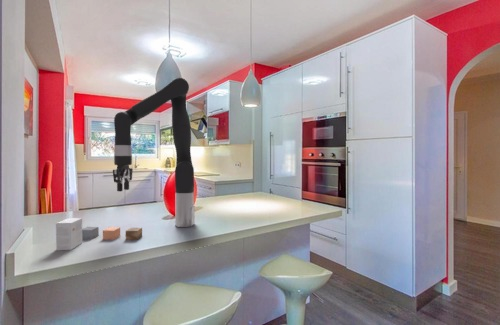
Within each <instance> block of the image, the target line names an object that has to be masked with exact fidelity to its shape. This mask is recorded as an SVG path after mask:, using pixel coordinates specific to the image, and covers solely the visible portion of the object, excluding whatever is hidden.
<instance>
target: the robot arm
mask: <svg viewBox="0 0 500 325" xmlns="http://www.w3.org/2000/svg"><path fill="white" fill-rule="evenodd" d="M189 89H190V84H189V82H188V81H187V80H186V79H185V78H183V77H176V78H173V79H172V80H171V81H170V82H169V83H168V84H167V85H165V86H164V87H163V88H161V89H159V90H158V91H157V92H155V93H153V94H151V95H150V96H148V97H146V98H144V99H143V100H140V101H139V102H137V103H135V104H134V105H132V106H131V107H130V108H129V109H127V110H126V111H120V112H117V113H115V115H114V118H113V123H114V124H113V125H114V150H113V151H114V153H113V154H114V156H113V157H114V158H113V159H114V160H113V162H114V163H113V164H114V166H116V169H112V176H113V182H114V183H115V184H116V191H117V192H123V190H124V191H127V190H130V182H131V181H132V180H133V167H132V168H131V167H130V166H132V164H133V152H132V151H133V149H132V135H131V132H132V128H131V127H132V125H134V124H135V123H137V121H139V120H141V119H143V118H145V117H147V116H148V115H150V114H152V113H153V112H155V111H157V110H158V109H159V108H160V107H162V106H163V105H164V104H166V103H167V102H169V101H170V103H171V109H172V110H171V111H172V112H171V129H172V130H171V131H172V138H173V144H174V147H175V152H176V154H175V156H176V157H175V158H176V159H175V160H176V164H175V167H174V168H175V169H174V187H175V188H174V190H175V191H174V192H175V194H174V195H175V200H174V201H175V202H174V203H175V204H174V205H175V206H174V208H175V209H174V210H175V213H174V214H175V216H174V218H175V219H174V220H175V221H174V222H175V226H176V227H177V228H189V227H193V226H194V225H195V221H196V220H195V218H196V215H195V210H196V208H195V207H196V206H195V205H194V197H195V196H194V189H195V169H194V165H193V162H192V154H191V145H192V132H191V131H192V130H191V121H190V116H189V114H188V110H187V94H188V93H189Z"/></svg>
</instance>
